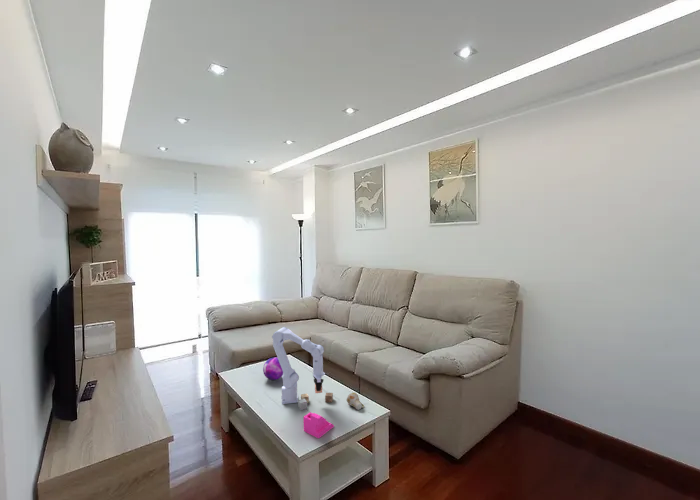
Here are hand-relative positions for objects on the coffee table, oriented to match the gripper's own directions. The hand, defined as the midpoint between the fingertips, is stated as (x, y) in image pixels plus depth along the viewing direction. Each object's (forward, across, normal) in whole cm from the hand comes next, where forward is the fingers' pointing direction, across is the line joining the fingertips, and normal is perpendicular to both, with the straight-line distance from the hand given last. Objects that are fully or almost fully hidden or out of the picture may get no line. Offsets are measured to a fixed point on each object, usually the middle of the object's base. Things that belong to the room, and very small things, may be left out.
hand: (318, 388), depth 190 cm
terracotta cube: (+2, 0, 0) cm, 2 cm away
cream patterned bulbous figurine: (+10, -6, -21) cm, 24 cm away
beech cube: (+10, +4, +8) cm, 13 cm away
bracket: (+10, -24, +2) cm, 26 cm away
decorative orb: (+10, +39, +28) cm, 49 cm away
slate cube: (+10, -2, +10) cm, 14 cm away
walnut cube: (+10, +3, -6) cm, 12 cm away
